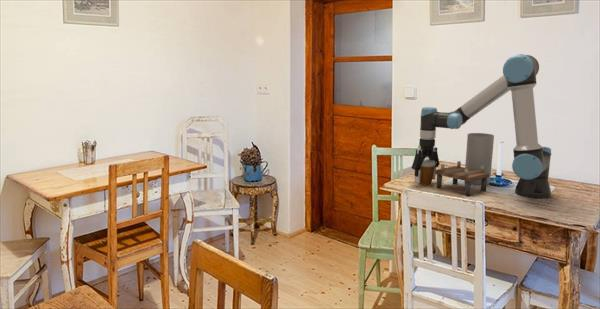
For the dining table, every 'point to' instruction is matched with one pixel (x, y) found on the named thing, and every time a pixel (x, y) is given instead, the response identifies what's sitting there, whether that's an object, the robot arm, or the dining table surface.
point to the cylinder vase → (479, 154)
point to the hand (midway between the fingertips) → (424, 180)
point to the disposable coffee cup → (426, 172)
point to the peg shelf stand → (462, 176)
